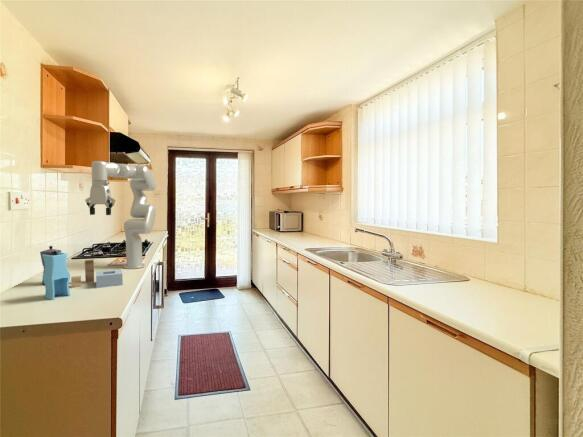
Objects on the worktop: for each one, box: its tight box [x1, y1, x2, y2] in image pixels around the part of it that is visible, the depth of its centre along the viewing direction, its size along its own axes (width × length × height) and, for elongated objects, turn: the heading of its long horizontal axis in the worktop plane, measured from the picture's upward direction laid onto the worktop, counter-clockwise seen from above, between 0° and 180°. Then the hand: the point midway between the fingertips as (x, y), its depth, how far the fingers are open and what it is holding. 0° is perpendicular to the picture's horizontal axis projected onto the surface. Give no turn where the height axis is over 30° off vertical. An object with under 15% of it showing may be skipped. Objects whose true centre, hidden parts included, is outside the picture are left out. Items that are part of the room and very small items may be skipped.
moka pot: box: [39, 245, 62, 285], centre depth 181 cm, size 10×15×20 cm, turn 55°
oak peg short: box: [70, 275, 82, 289], centre depth 176 cm, size 4×4×5 cm
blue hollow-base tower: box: [42, 251, 71, 301], centre depth 158 cm, size 8×8×20 cm
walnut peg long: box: [84, 258, 95, 284], centre depth 185 cm, size 4×4×12 cm
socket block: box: [95, 268, 124, 289], centre depth 182 cm, size 12×12×6 cm
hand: (100, 214), depth 188 cm, fingers open, 9 cm apart
